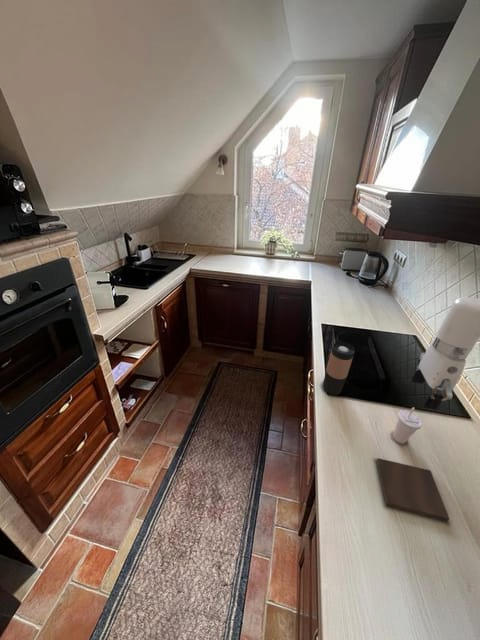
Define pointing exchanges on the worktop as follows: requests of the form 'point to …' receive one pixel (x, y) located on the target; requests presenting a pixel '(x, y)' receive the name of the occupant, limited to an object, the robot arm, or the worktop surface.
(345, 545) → the worktop surface
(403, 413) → the smoothie
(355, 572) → the worktop surface
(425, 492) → the walnut board
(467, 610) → the worktop surface
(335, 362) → the travel mug
